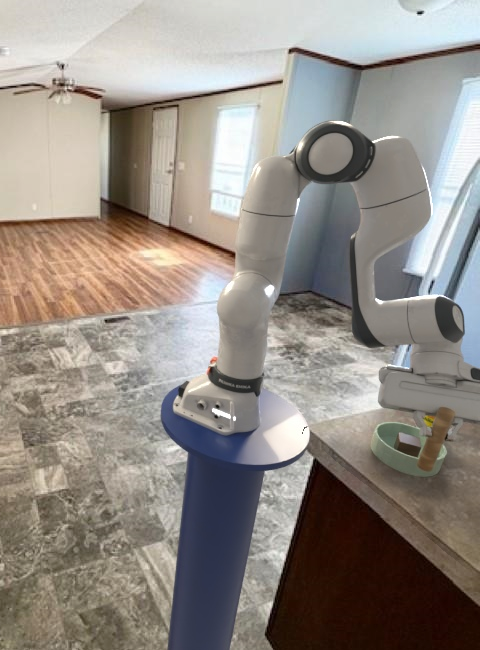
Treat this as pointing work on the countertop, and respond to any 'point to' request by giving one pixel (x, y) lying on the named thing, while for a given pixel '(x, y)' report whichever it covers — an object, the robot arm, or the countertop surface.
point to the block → (408, 444)
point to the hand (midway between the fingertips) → (437, 438)
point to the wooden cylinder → (436, 438)
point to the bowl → (404, 463)
